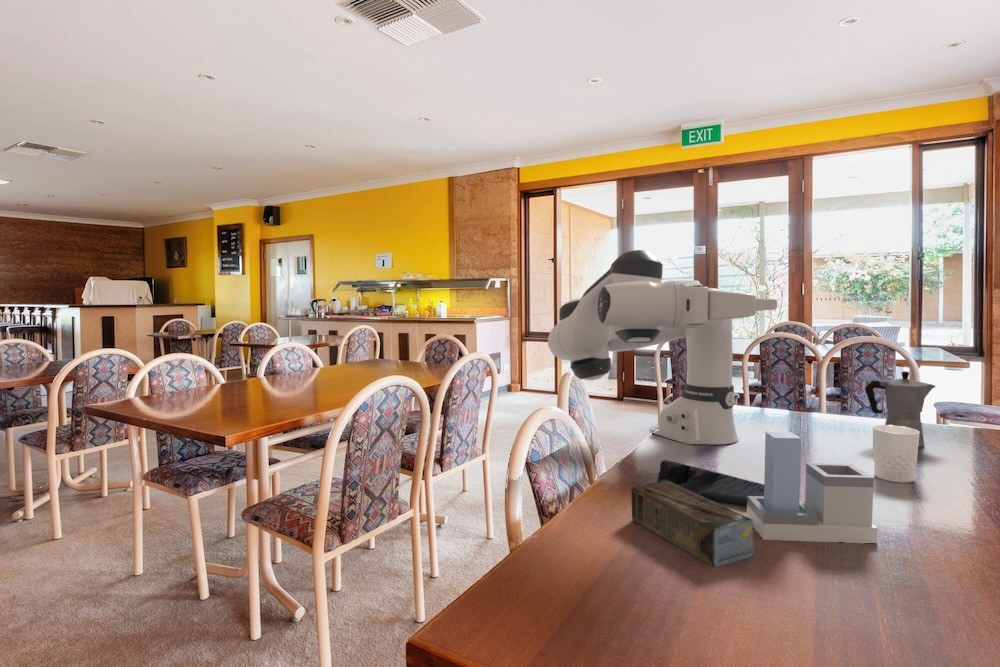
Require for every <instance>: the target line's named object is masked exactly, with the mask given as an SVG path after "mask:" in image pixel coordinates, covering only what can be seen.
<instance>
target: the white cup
mask: <svg viewBox="0 0 1000 667" xmlns="http://www.w3.org/2000/svg"><path fill="white" fill-rule="evenodd" d="M919 435H920V432H919V431H918V430H915V429H912V428H908V427H902V426H893V425H885V424H883V425H882V424H880V425H879V424H878V425H874V426H873V427H872V451H873V452H872V453H873V454H872V455H873V456H872V457H873V458H872V459H873V465H874V466H873V467H874V469H873V471H874V476H875V477H877V478H878V479H880V480H883V481H888V482H892V483H903V484H907V483H913V482H914V481H915V472H916V469H917V461H918V452H919V448H918V445H919Z"/></svg>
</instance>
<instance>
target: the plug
mask: <svg viewBox="0 0 1000 667" xmlns="http://www.w3.org/2000/svg"><path fill="white" fill-rule="evenodd" d="M764 441H765V442H764V443H765V444H764V446H765V447H764V479H763V480H764V483H763V484H764V508H765V509H766V510H767V511H768V512H787V513H799V499H800V497H801V496H800V493H801V490H800V489H801V488H800V487H801V458H802V457H803V441H802V438H801V437H800V436H799V435H797V434H795V433H793V432H791V431H765V439H764ZM800 500H801V499H800Z"/></svg>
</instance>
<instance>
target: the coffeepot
mask: <svg viewBox="0 0 1000 667" xmlns="http://www.w3.org/2000/svg"><path fill="white" fill-rule="evenodd" d="M909 374H910V372H909V371H901V376H902V378H897V379H890V380H889V379H888V380H871V381H870V382H869V383H868V384H867V385H866V386H865V387H864V388H865V389H864V391H865V393H866V395H867V399H868V403H869V404H870V405H869V406H870V408H871V411H872V413H874V414H883V411H884V409H879V408H878V402H877V400H876V397H875V392H874V389H881V390H884V393H885V394H884V395H885V403H886V409H887V416H886V419H885V420H886V421H885V424H884V425H893V426H902V427H908V428H912V429H915V430H918V431H919V432H920V435H919V445H918V447H921V448H924V447H925V441H924V435H923V427H922V420H921V413H922V411H923V409H924V404H925V399H926V397H927V396H928V395H929V393H930V392H931V391H932V390H933V389H934V388H936V385H934V384H929V383H926V382H922V381H916V380H915V379H914V380H913V379H909V376H910V375H909ZM923 446H924V447H923Z"/></svg>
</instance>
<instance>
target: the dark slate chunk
mask: <svg viewBox="0 0 1000 667" xmlns="http://www.w3.org/2000/svg"><path fill="white" fill-rule="evenodd" d="M664 480H667V481H669V482H672V483H674V484H676V485H679V486H681V487H683V488H685V489H687V490H689V491H692V492H694V493H696V494H698V495H701V496H703V497H705V498H707V499H708V498H709V500H714V499H716V500H717V502H723V503H727V504H731V503H732V505H738V504H739V505H738V506H745V507H747V500H748V496H764V483H760V482H756V481H753V480H747V479H745V478H744V479H743V478H739V477H737V476H734V475H729V474H726V473H721V472H717V471H713V470H710V469H705V468H702V467H697V466H693V465H689V464H684V463H682V462H676V461H672V460H667V459H664V460H661V462H660V464H659V472H658V474H657V481H655V482H654V483H657V482H661V481H664ZM716 500H715V501H716Z"/></svg>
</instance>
